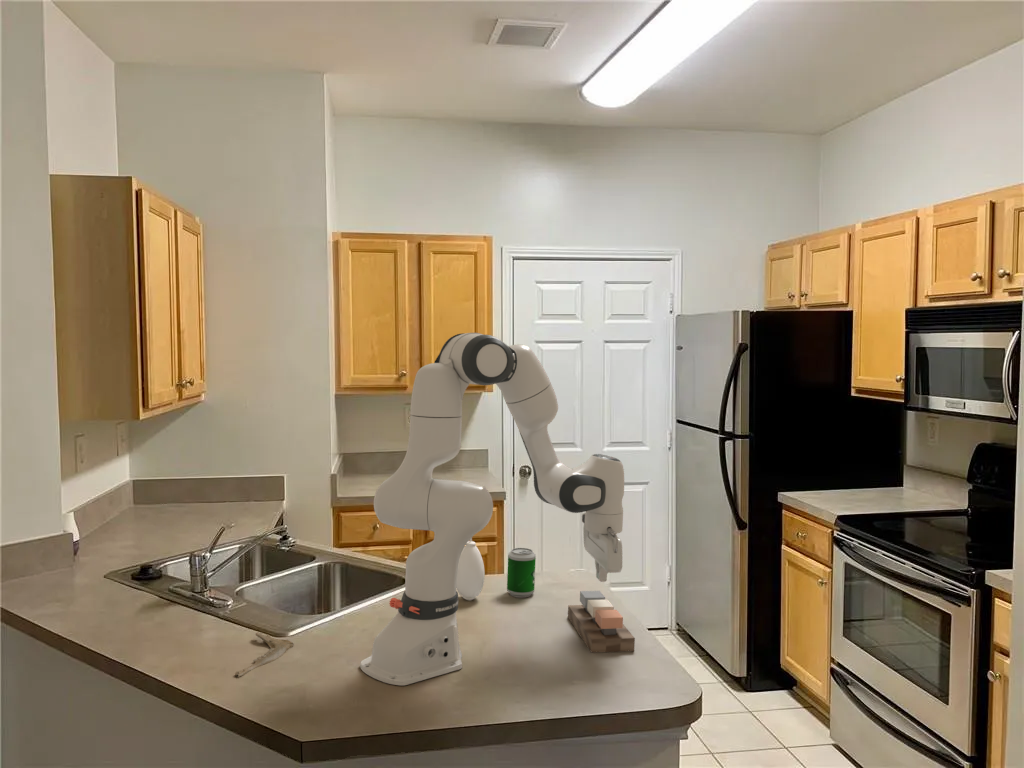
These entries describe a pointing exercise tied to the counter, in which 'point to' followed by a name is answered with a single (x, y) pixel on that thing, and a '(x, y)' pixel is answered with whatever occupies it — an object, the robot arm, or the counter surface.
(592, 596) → the slate key
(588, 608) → the ivory key
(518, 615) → the counter surface
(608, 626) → the terracotta key
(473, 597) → the sauce bottle
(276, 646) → the jawbone
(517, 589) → the soda can
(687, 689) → the counter surface
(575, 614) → the keypad board
